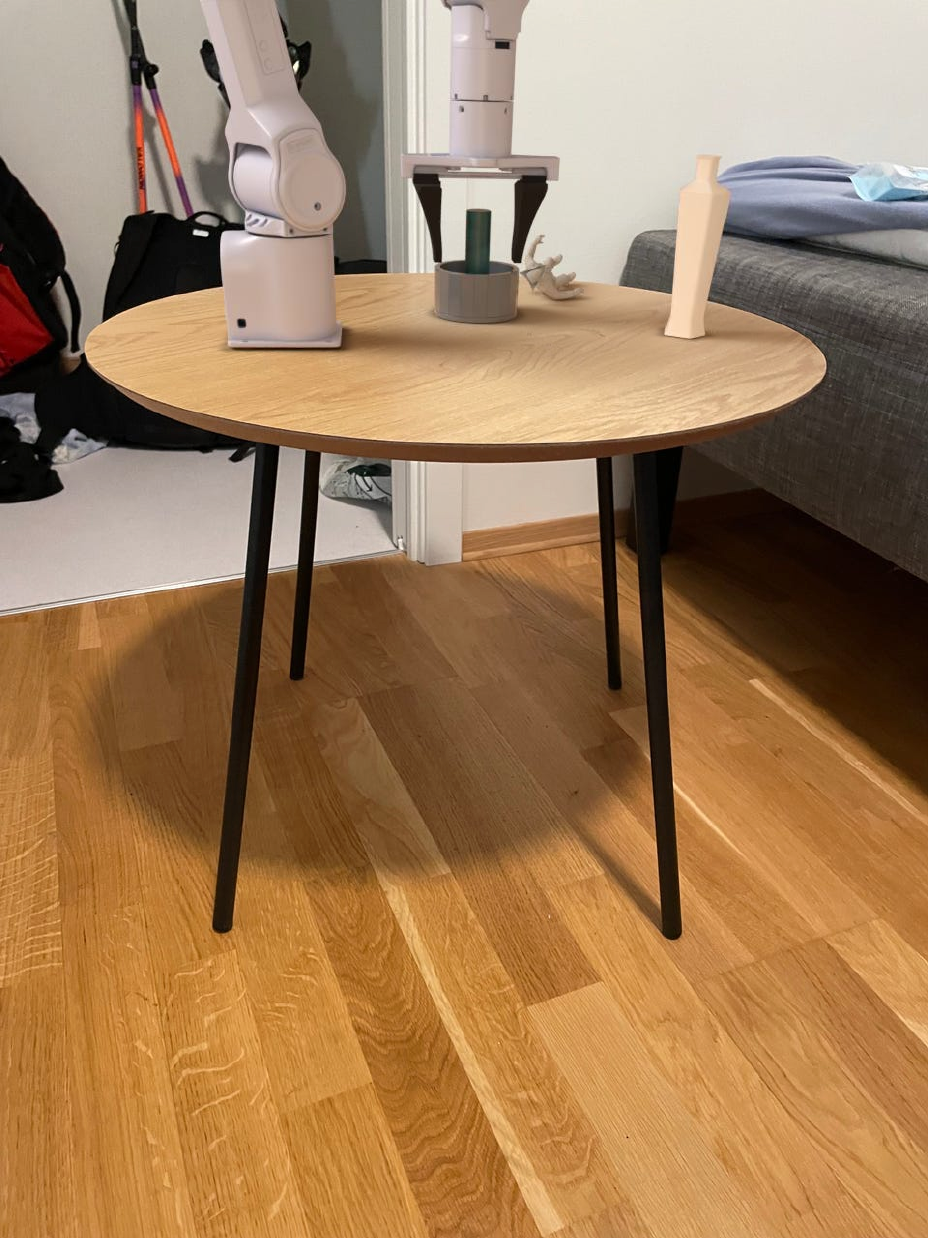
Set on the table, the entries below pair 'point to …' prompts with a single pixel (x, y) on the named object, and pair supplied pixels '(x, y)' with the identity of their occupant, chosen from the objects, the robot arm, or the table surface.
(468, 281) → the low gray pot
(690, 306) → the peach faceted vase
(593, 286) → the table surface
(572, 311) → the table surface
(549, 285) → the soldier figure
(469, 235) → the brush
